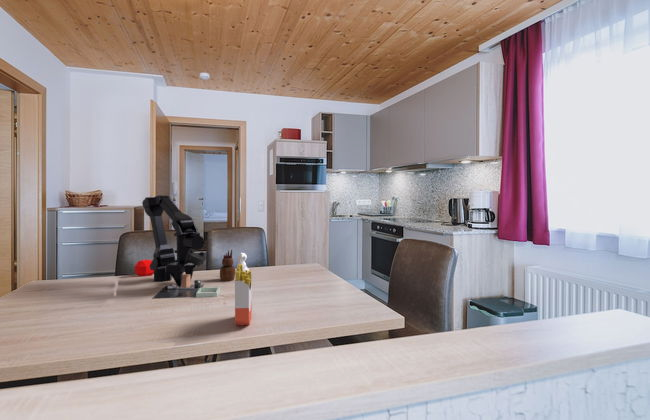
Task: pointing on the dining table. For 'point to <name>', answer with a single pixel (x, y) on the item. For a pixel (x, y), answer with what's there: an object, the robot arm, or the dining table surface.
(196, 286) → the crank
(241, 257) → the sitting furry creature
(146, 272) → the red piece
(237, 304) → the french fries container
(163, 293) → the base plate
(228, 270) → the wooden figurine
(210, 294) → the tray
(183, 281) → the block
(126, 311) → the dining table surface
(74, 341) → the dining table surface
